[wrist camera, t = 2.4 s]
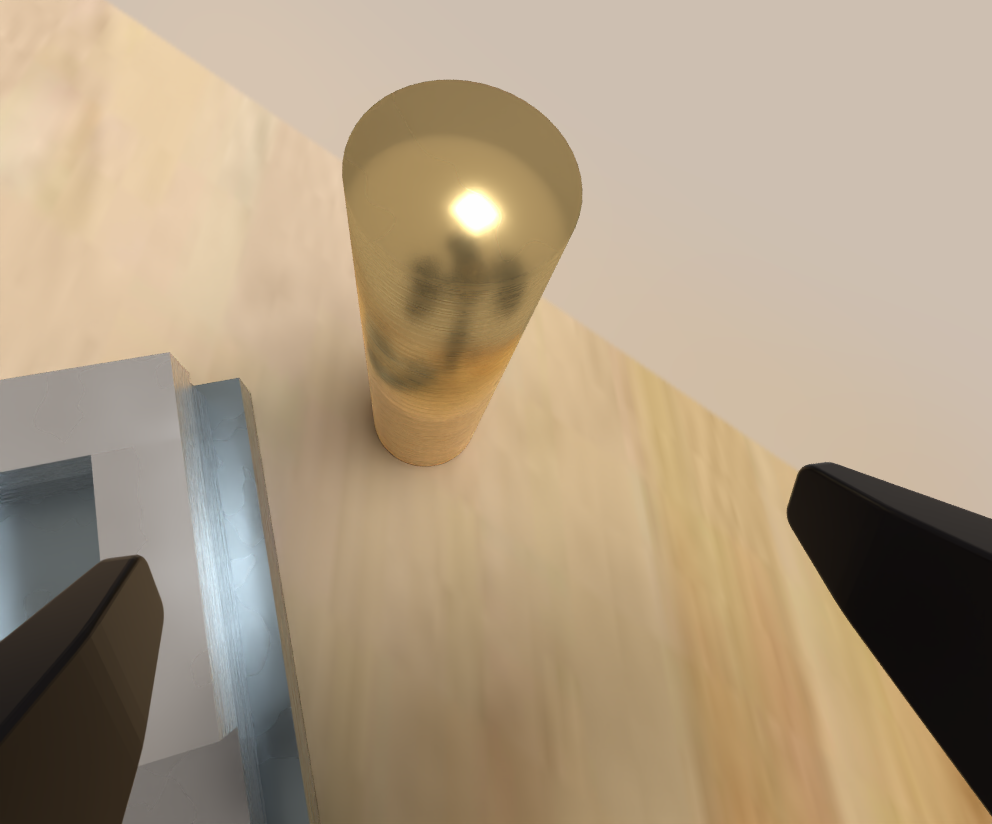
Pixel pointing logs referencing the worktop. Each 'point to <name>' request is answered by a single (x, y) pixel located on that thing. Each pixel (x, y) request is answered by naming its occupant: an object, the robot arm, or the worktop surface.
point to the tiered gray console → (165, 572)
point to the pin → (451, 251)
